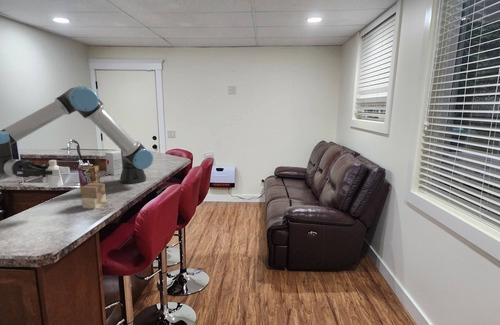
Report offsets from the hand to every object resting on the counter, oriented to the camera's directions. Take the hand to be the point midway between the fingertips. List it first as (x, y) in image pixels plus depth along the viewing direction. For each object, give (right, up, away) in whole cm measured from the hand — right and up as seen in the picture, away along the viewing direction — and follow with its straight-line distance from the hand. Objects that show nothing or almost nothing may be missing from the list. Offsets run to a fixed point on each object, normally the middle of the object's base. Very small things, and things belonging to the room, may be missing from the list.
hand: (64, 171), depth 119 cm
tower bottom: (+4, -17, +16) cm, 24 cm away
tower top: (+4, -12, +15) cm, 20 cm away
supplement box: (-15, -4, +79) cm, 81 cm away
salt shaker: (-5, -6, +3) cm, 9 cm away
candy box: (-7, -13, +33) cm, 37 cm away
